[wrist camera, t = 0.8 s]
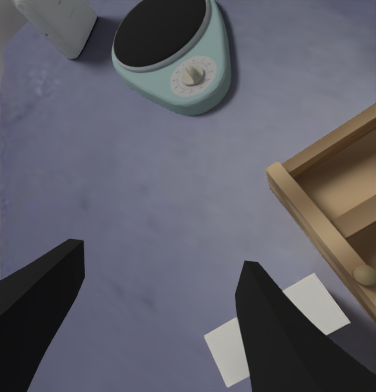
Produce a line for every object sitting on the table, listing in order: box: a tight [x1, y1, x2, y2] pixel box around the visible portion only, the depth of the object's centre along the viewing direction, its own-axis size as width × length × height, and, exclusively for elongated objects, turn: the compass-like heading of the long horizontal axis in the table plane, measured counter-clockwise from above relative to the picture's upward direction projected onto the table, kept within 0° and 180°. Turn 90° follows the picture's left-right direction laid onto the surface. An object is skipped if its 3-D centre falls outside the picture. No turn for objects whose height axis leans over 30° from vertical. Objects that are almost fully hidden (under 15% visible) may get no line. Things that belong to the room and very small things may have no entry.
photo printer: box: [11, 0, 97, 59], centre depth 42 cm, size 10×4×12 cm, turn 162°
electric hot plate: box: [112, 0, 231, 116], centre depth 35 cm, size 18×4×25 cm
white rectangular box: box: [204, 273, 351, 388], centre depth 18 cm, size 3×8×7 cm, turn 118°
